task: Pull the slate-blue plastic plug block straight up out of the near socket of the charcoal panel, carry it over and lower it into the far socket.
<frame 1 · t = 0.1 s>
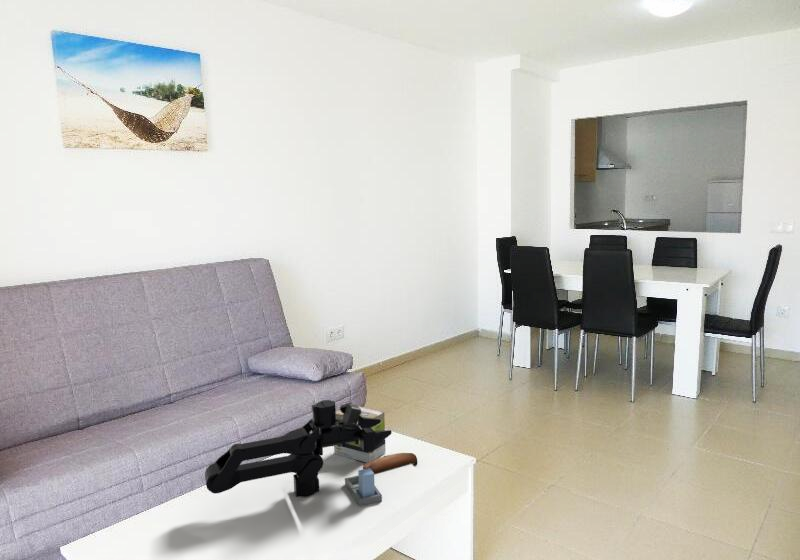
hand: (385, 426, 176), 17 cm above the table, tool horizontal, fingers open, 9 cm apart
plug: (367, 498, 164), point 1 cm above the table, touching panel
panel: (363, 496, 168), on the table
sunglasses case: (387, 468, 185), on the table
tea box: (359, 454, 195), on the table
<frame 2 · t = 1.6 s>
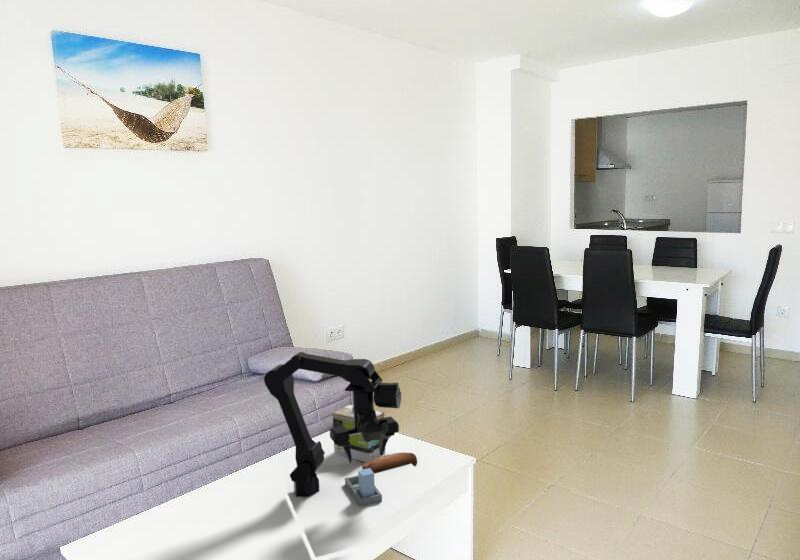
hand: (365, 458, 162), 13 cm above the table, tool pointing down, fingers open, 9 cm apart
sunglasses case: (387, 468, 186), on the table, touching tea box
tea box: (359, 453, 195), on the table, touching sunglasses case
everything else where it was.
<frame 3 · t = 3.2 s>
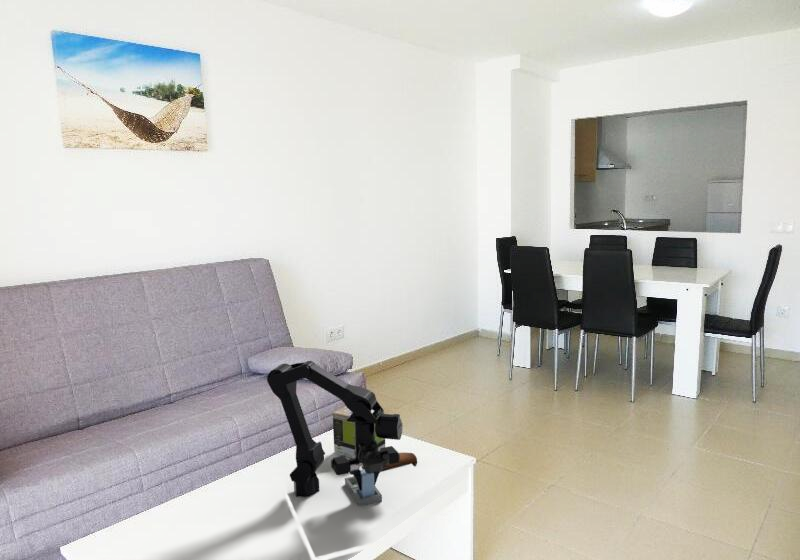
hand: (366, 488, 164), 4 cm above the table, tool pointing down, fingers closed on plug, 3 cm apart
plug: (367, 498, 164), point 1 cm above the table, touching gripper, panel
sunglasses case: (387, 467, 186), on the table
tea box: (359, 453, 195), on the table
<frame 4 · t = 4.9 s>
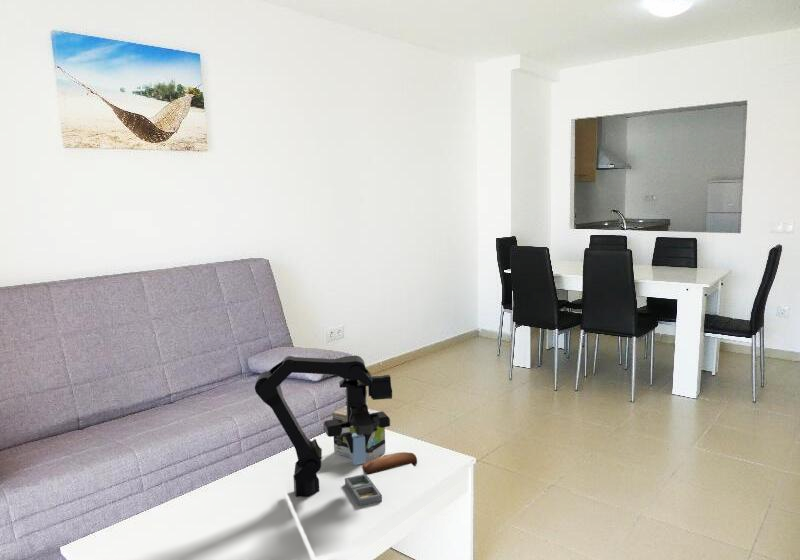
hand: (357, 451, 169), 12 cm above the table, tool pointing down, fingers closed on plug, 3 cm apart
plug: (358, 461, 169), point 9 cm above the table, touching gripper
everything else where it was.
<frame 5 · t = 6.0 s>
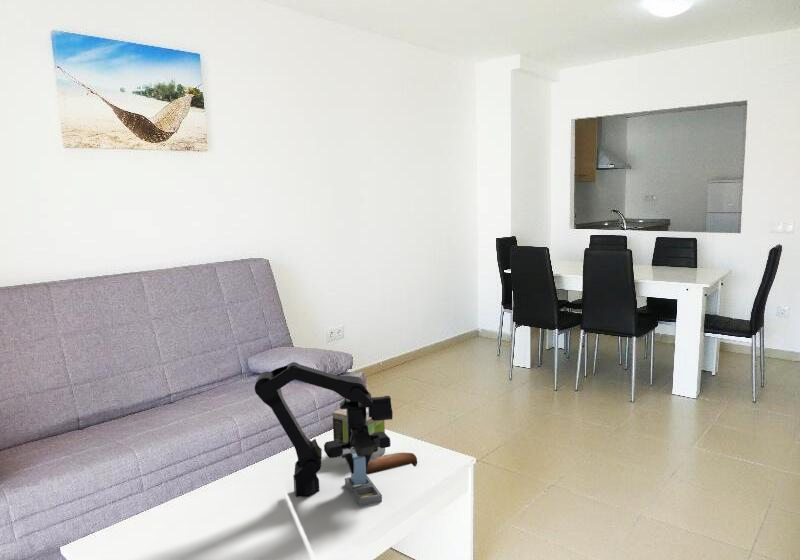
hand: (358, 471, 170), 6 cm above the table, tool pointing down, fingers closed on plug, 3 cm apart
plug: (358, 481, 170), point 3 cm above the table, touching gripper
everything else where it was.
when the fingers open (6 cm above the table, at t = 6.7 s): plug drops 1 cm, resting on panel.
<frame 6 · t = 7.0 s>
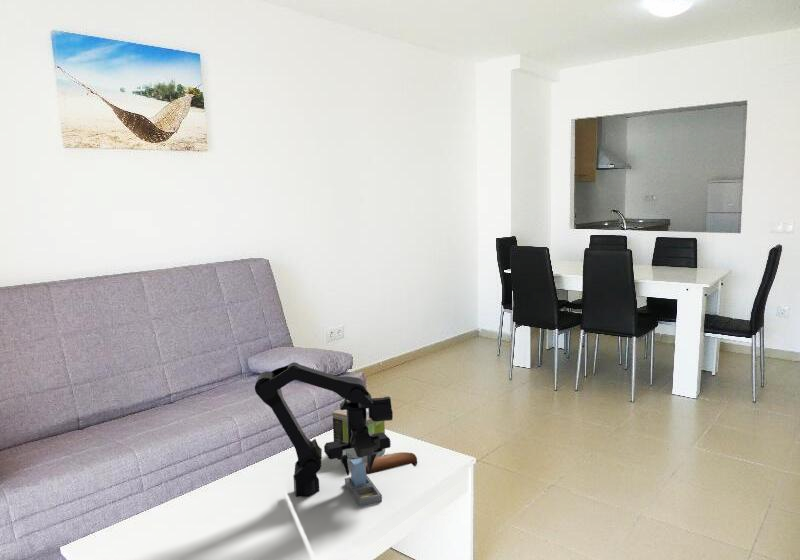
hand: (358, 472, 170), 6 cm above the table, tool pointing down, fingers open, 6 cm apart
plug: (358, 487, 171), point 1 cm above the table, touching panel
everything else where it was.
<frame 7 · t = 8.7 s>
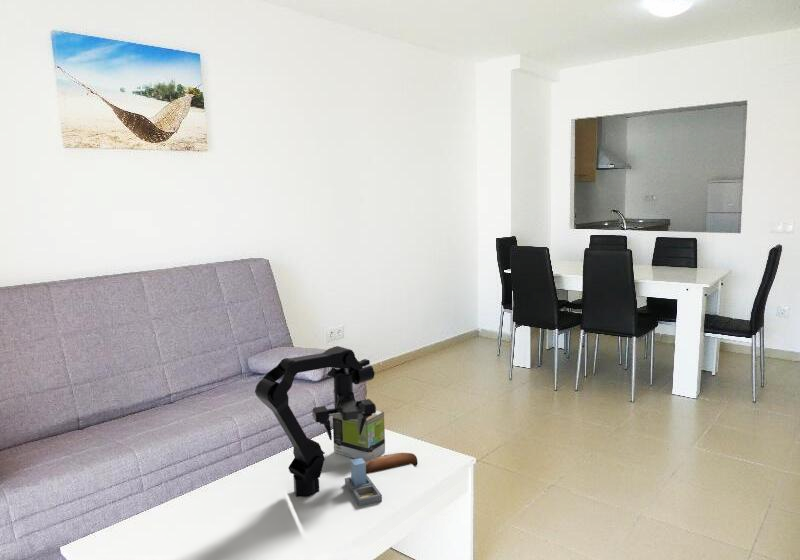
hand: (345, 437, 177), 13 cm above the table, tool pointing down, fingers open, 9 cm apart
nothing on the table moved.
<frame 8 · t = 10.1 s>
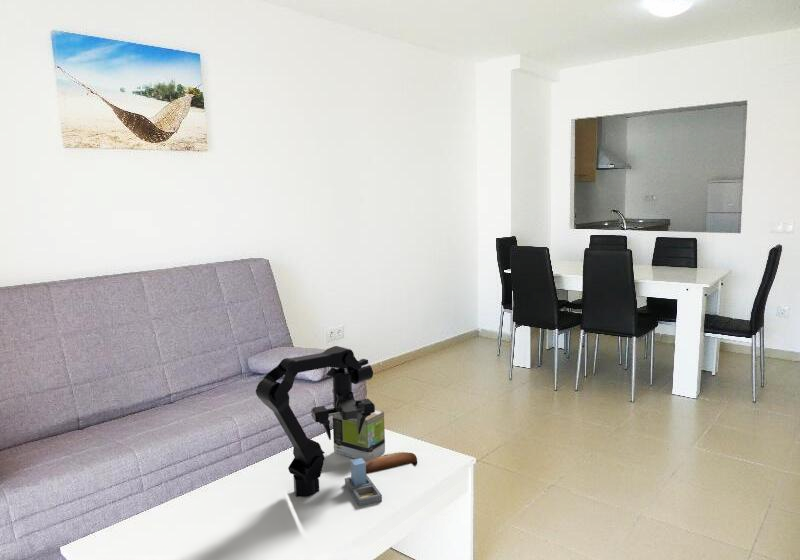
hand: (344, 436, 177), 13 cm above the table, tool pointing down, fingers open, 9 cm apart
nothing on the table moved.
at the end: plug 0.1 cm from the target spot on the panel, point 1.1 cm above the panel's base; plug tilted 0°; the gripper is holding nothing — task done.
